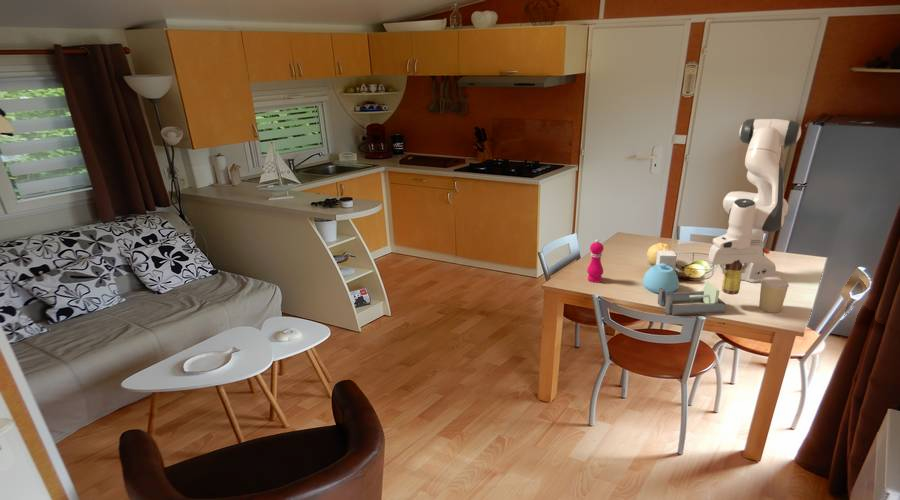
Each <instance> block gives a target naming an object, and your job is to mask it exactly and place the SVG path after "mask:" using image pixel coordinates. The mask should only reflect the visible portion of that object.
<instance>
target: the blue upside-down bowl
mask: <svg viewBox="0 0 900 500" xmlns="http://www.w3.org/2000/svg"><path fill="white" fill-rule="evenodd" d="M642 285H643V286H644V288H645V289H646V290H647V289H648V290H647V291H649V292H651V291H652V293H654V292H655V293H654V294H659V288H663V289H664V290H665V293H675V292H676V291H677V290H678V289H679V287H680V281H679V278H678V274H677V273H676V270H675V271H674V270H673V268H672V267H670V266H667V265H666V264H664V263H660V264H659V265H652V266H651V267H650V268H648V270H647V271H646V272H645V274H644V276H643V279H642Z"/></svg>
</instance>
